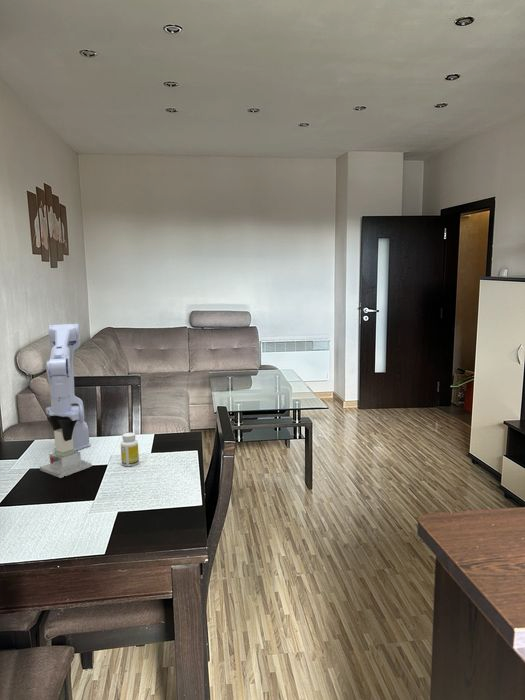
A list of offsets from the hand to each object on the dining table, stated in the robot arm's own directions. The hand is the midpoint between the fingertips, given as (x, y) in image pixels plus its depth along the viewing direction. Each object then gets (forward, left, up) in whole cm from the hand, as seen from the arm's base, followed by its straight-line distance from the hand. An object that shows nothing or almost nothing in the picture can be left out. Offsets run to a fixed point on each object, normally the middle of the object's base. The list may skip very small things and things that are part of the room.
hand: (63, 438), depth 155 cm
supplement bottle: (-14, +14, -10) cm, 22 cm away
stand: (0, 0, -10) cm, 10 cm away
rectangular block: (0, 0, -6) cm, 6 cm away
